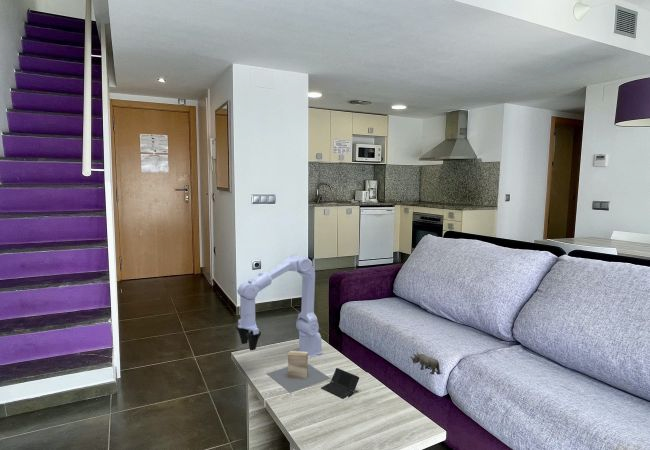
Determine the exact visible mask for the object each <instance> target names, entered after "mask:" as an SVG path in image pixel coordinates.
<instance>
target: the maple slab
mask: <svg viewBox="0 0 650 450" xmlns="http://www.w3.org/2000/svg"><path fill="white" fill-rule="evenodd" d="M308 360H309V357H308V352H299V351H298V350H296V351H295V350H294V351H293V350H290V351H289V352H288V354H287V367H288V378H304V379H306V378H307V375H308V364H309V361H308Z"/></svg>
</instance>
